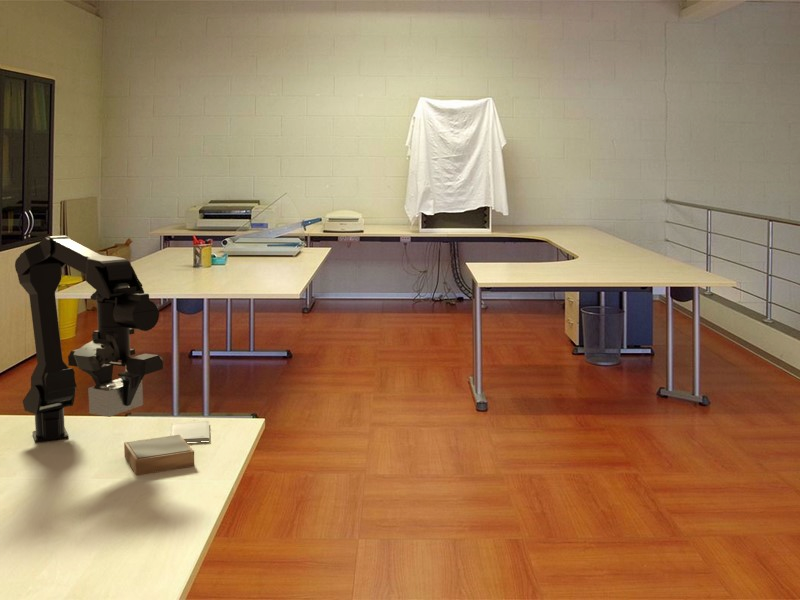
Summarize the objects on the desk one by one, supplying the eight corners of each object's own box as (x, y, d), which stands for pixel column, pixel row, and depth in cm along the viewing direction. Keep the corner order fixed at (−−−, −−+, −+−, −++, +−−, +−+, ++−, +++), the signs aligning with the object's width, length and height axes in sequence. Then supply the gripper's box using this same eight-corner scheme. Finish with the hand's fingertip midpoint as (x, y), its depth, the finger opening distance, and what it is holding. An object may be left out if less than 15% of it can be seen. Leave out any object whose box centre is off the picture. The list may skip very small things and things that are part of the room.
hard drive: (209, 437, 170) (209, 419, 182) (169, 439, 168) (171, 421, 180) (209, 445, 170) (209, 426, 182) (169, 447, 168) (171, 428, 180)
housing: (123, 401, 161) (122, 376, 160) (143, 404, 159) (142, 379, 158) (89, 413, 153) (88, 386, 152) (109, 416, 150) (108, 389, 150)
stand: (124, 456, 160) (124, 441, 160) (179, 448, 166) (179, 434, 165) (136, 475, 151) (135, 459, 150) (194, 465, 156) (194, 450, 156)
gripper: (43, 327, 149) (48, 408, 152) (122, 336, 142) (125, 421, 145) (88, 318, 160) (91, 394, 162) (163, 326, 152) (166, 405, 155)
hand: (116, 403), depth 155 cm, fingers closed on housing, 5 cm apart
